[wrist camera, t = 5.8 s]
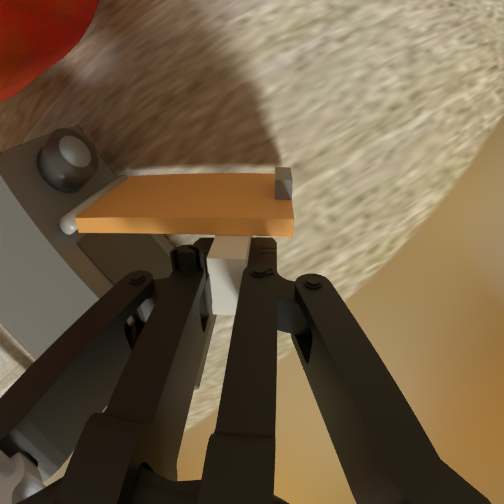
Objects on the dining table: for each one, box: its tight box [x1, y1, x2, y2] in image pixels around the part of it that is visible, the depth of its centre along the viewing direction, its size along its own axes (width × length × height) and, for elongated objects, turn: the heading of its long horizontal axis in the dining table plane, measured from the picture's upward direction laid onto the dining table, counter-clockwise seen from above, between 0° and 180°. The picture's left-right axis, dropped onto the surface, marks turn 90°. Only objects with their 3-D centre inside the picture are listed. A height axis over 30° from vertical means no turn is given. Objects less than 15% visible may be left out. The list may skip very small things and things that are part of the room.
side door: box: [60, 167, 294, 237], centre depth 16 cm, size 12×2×7 cm, turn 90°
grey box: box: [0, 125, 217, 412], centre depth 19 cm, size 18×14×10 cm
